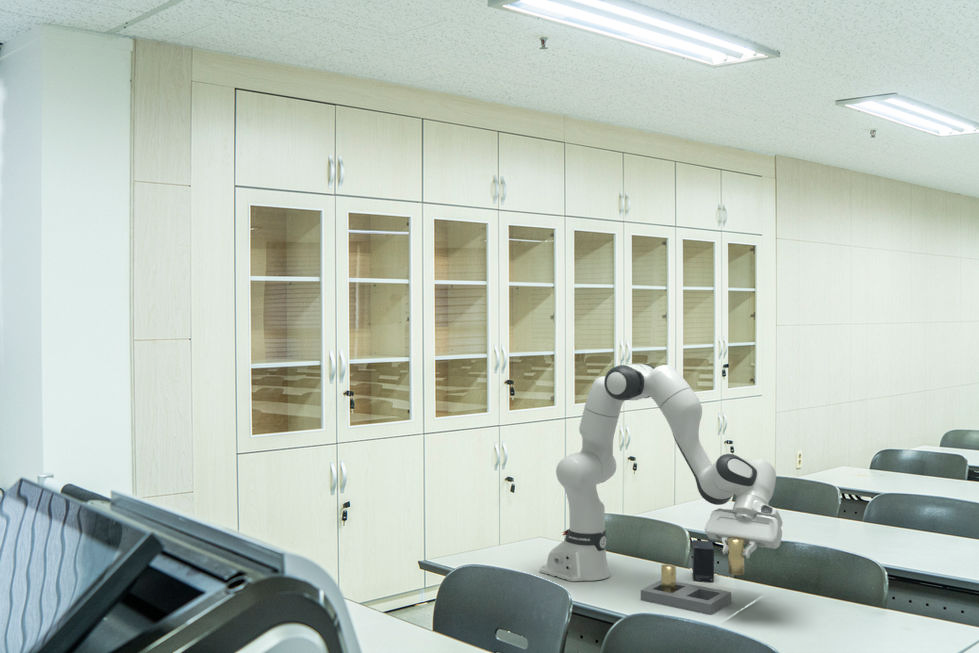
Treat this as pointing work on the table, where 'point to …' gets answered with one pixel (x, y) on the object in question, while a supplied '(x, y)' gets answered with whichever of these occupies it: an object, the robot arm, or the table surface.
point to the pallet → (688, 597)
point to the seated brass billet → (668, 578)
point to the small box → (703, 561)
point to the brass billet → (735, 556)
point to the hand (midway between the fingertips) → (735, 555)
